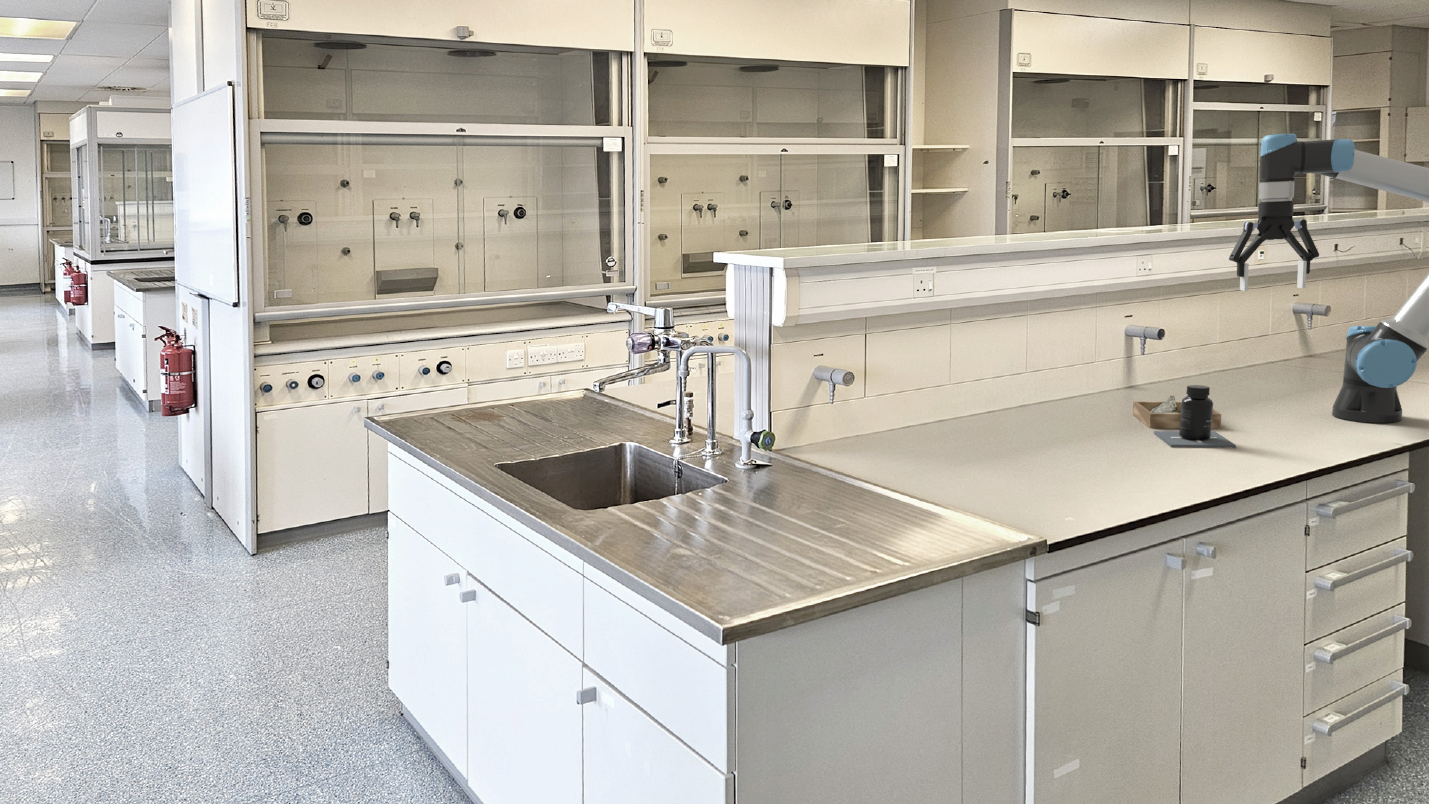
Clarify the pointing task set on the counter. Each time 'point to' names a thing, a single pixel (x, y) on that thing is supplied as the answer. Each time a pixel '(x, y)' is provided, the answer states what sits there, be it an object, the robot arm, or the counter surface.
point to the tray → (1164, 416)
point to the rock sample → (1167, 406)
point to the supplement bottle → (1196, 413)
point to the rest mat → (1176, 441)
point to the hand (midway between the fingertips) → (1272, 289)
